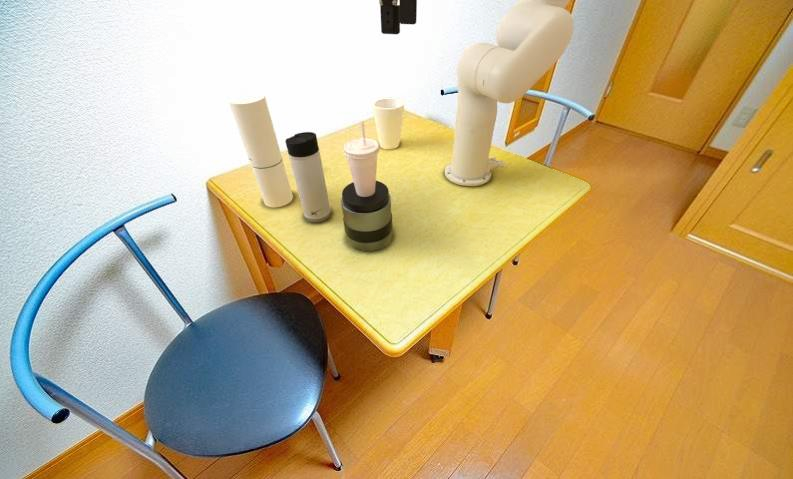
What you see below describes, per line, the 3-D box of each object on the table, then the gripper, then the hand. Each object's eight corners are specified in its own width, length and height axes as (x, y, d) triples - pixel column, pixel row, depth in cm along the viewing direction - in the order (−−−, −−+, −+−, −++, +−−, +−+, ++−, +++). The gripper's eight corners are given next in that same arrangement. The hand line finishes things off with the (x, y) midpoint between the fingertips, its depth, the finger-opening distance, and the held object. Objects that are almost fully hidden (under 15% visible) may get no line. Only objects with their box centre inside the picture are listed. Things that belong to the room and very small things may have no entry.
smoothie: (377, 202, 61) (372, 130, 52) (344, 199, 62) (334, 127, 53) (385, 184, 66) (381, 115, 56) (354, 181, 67) (346, 113, 57)
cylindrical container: (283, 188, 86) (254, 89, 70) (298, 198, 83) (271, 97, 66) (259, 199, 83) (221, 98, 66) (272, 211, 79) (237, 106, 62)
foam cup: (378, 137, 109) (375, 97, 100) (405, 138, 108) (405, 98, 99) (372, 150, 102) (369, 108, 93) (401, 152, 101) (401, 109, 92)
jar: (388, 218, 76) (386, 175, 68) (396, 248, 68) (395, 203, 61) (344, 224, 75) (337, 181, 67) (348, 255, 67) (340, 210, 59)
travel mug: (320, 226, 74) (301, 145, 61) (299, 217, 77) (277, 137, 63) (337, 212, 78) (323, 132, 65) (317, 204, 81) (299, 126, 67)
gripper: (404, -120, 40) (404, 39, 52) (437, -105, 52) (431, 21, 64) (349, -116, 42) (361, 37, 54) (394, -102, 54) (395, 20, 66)
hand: (399, 28), depth 59 cm, fingers open, 9 cm apart
